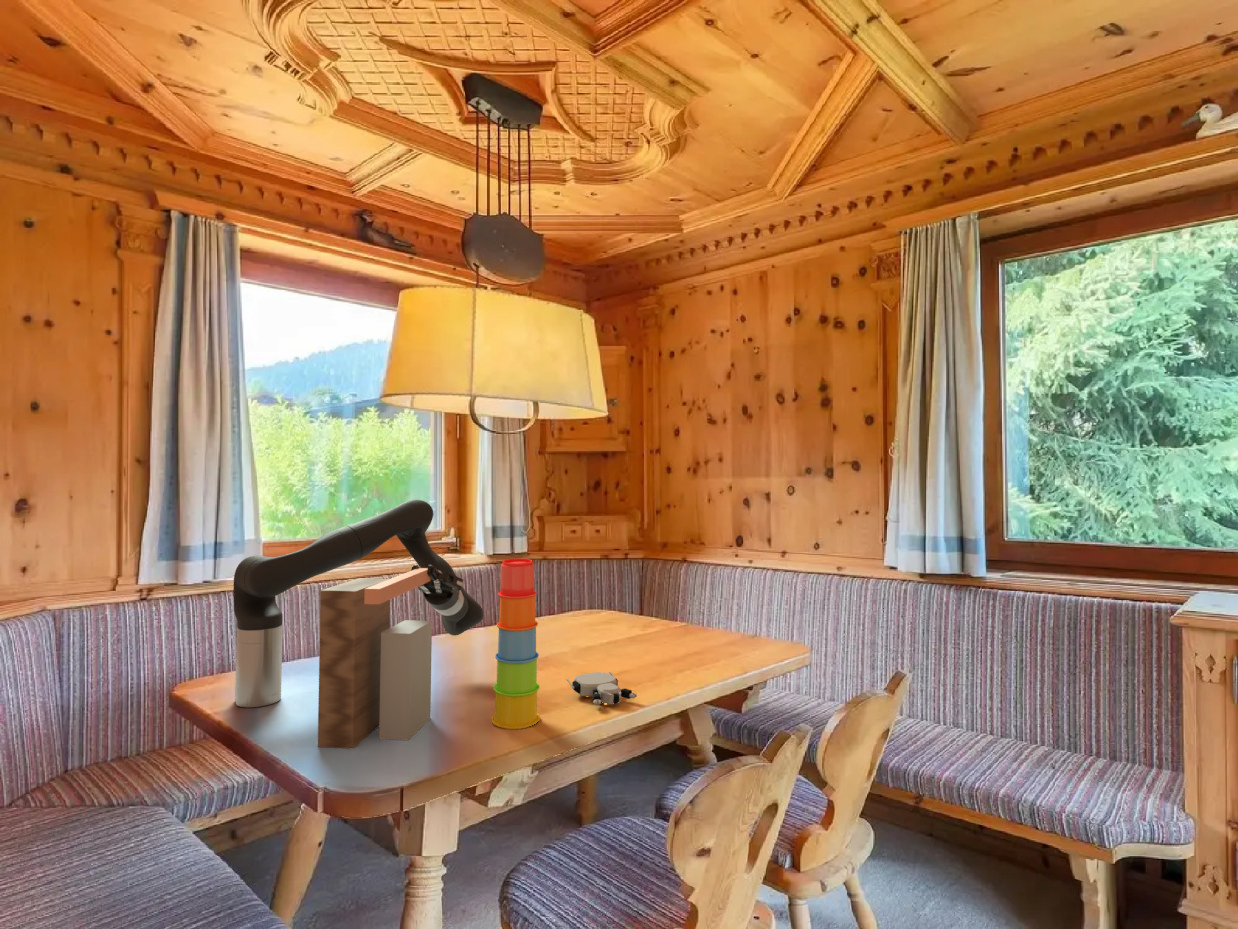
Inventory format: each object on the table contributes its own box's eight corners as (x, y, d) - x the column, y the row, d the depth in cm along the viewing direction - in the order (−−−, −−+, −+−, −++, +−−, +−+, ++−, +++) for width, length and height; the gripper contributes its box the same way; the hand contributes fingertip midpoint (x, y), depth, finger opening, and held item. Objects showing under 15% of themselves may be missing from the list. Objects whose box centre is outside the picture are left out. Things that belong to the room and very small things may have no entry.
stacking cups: (549, 719, 146) (551, 558, 146) (517, 733, 137) (519, 563, 138) (514, 709, 152) (516, 555, 152) (481, 722, 143) (483, 559, 144)
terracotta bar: (364, 604, 123) (364, 588, 123) (418, 580, 149) (418, 568, 149) (379, 604, 123) (379, 589, 123) (430, 581, 149) (430, 568, 149)
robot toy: (639, 708, 156) (608, 685, 169) (640, 689, 156) (609, 668, 169) (593, 717, 150) (564, 693, 163) (594, 697, 150) (564, 674, 163)
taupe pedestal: (379, 739, 134) (381, 632, 134) (403, 717, 146) (405, 620, 146) (408, 740, 133) (410, 633, 134) (430, 718, 145) (431, 620, 146)
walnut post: (317, 746, 130) (320, 590, 130) (356, 717, 145) (359, 578, 146) (352, 748, 129) (355, 591, 130) (388, 718, 145) (390, 578, 145)
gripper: (419, 580, 165) (394, 552, 150) (475, 581, 164) (455, 553, 149) (413, 610, 161) (386, 584, 146) (470, 611, 160) (450, 585, 145)
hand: (421, 569), depth 147 cm, fingers closed on terracotta bar, 2 cm apart
